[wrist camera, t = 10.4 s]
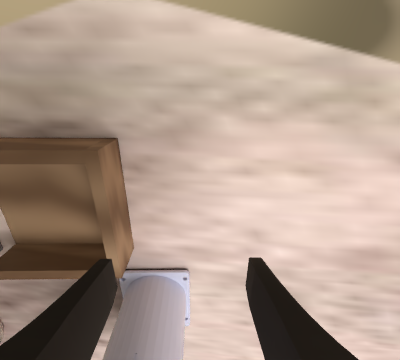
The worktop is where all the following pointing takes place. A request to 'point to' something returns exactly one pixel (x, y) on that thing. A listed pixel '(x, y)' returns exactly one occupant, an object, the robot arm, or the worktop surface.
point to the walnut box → (63, 207)
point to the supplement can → (1, 331)
